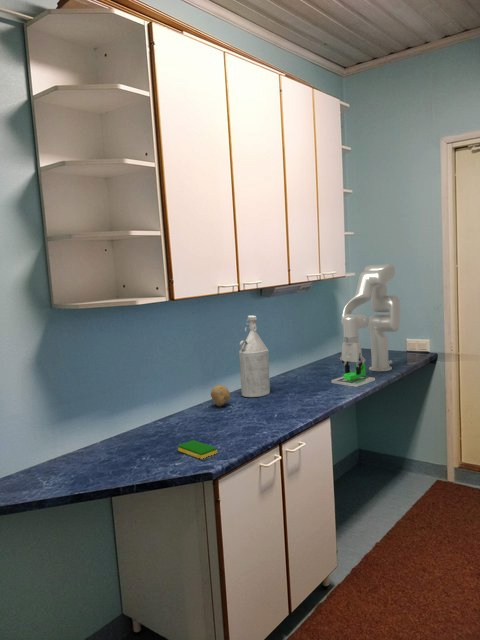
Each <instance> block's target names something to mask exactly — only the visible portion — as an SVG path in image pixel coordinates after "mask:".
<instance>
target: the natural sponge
mask: <svg viewBox="0 0 480 640" xmlns="http://www.w3.org/2000/svg"><path fill="white" fill-rule="evenodd" d="M210 397H211V400H212V401H213V403H214V404H215V405H216V406H218V407H222V406H224V404H226V403H227V402H229V401H230V399H231V393H230V391H229V389H228V387H226V386H225V385H223V384H217V385H216V386H214V387H212V389H211V390H210Z"/></svg>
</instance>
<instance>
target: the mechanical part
mask: <svg viewBox="0 0 480 640" xmlns="http://www.w3.org/2000/svg"><path fill="white" fill-rule="evenodd" d="M356 367H357V366H356V364H355V366H354V368H355V369H354V371H350V372H349V373H344V374H343V376H344V379H347V380H353V379H356V378H360V377H363V376H367V375H366V365H365V362H364V363H363V365H362V366H361V374H359V375H357V374H356Z"/></svg>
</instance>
